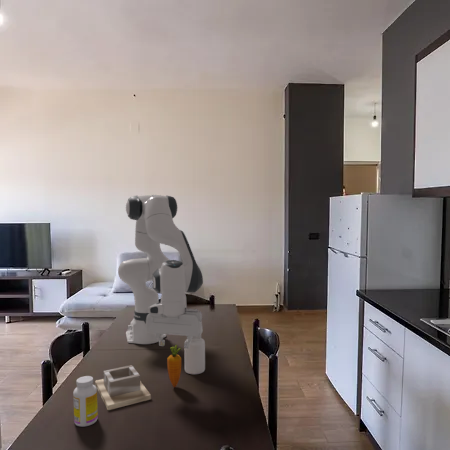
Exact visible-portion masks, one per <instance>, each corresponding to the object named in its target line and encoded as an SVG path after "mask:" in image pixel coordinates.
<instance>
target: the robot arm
mask: <svg viewBox="0 0 450 450" xmlns="http://www.w3.org/2000/svg"><path fill="white" fill-rule="evenodd" d="M126 201H127V202H126V205H125V211H126V214H127V217H128V218H129V219H130V220H133V221H135V229H134V230H135V231H134V232H135V233H134V234H135V236H134V245H135V248H136V249H137V250H139V251H140V252H142V253H144V254H146V255H147V256H146V257H143V258H141V257H140V258H131V259H126V260H124V261H121V263H120V264H119V266H118V267H117V268H118V269H117V271H118V272H117V274H118V277H119V279H120V280H121V281H122V282H123V283H125V284H126V285H128V287H129V288H130V289H131V291H132V294H133V297H134V311H133V318H132V320H131V321H130V324H128V325H127V330H126V332H125V336H126V340H127V341H126V342H127V343H128V344H137V345H151V344H155V343H158V346H159V347H164V346H165V345H166V340H165V339H164V338H167V335H171V336H183V337H184V336H185V337H186V339H188V341H187V342H185V341H184V343H183V349H184V348H190V342H191V340H192V338H193V337H198V336H200V335H201V336H202V333H203V331H204V330H203V329H204V328H203V322H202V321H203V312H201V310H199V309H197V308H191V307H190V308H189V307H188V308H187V296H186V293H196V292H198V291H199V290H200V289H201V287H202V286H203V283H204V278H203V273H202V271H201V269H200V267H199V265H198V264H197V263H198V262H197V261H196V259H195V256H194V253H193V251H192V248H191V246H190V244H189V241H188V238H187V237H186V234H185V232H184V231H182V230H181V229H180V228H178V226H176V224H175V223H174V218H175V217H176V215H177V212H178V202H177V200H176V198H175V197H173V196H171V195H161V194H160V195H157V194H151V195H133V196H132V195H131V196H130V197H129V198H128V199H127V200H126ZM161 245H165V246H169V247H171V248H174V249H176V251H178V253H179V257H180V258H181V261H180V260H176V259H170V258H168V257H167V256H166V255H165V254H164V253H163V252H162V249H161ZM147 282H152V288H151V287H148V286H147V284H146V283H147ZM159 294H161V297H160V301H159Z"/></svg>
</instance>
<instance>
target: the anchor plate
mask: <svg viewBox="0 0 450 450" xmlns="http://www.w3.org/2000/svg"><path fill="white" fill-rule="evenodd" d="M94 382H95V383H94V385H95V386H96V388H97V393H98V394H99V396H100V397H101V400H102V402H103V403H104V406H105V408H106V410H107V411H112V410H115V409H118V408H122V407H125V406H130V405H134V404H138V403H142V402H146V401H149V400H152V395H151V393H150V392H149V391H148V389H147V388H146V387H145V385H144V384H143V383H142V381H141V375H140V373H139V372H138V371H137V370H136V369H135V366H133V365H132V364H130V365H125V366H120V367H115V368H111V369H107V370H103V378H101V379H96V380H95V381H94Z"/></svg>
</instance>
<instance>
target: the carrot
mask: <svg viewBox="0 0 450 450" xmlns="http://www.w3.org/2000/svg"><path fill="white" fill-rule="evenodd" d="M177 348H178V349H177ZM169 349H170V351H171V354H170V355H169V356H168V357H167V358H166V359H167V360H166V364H167V373H168V378H169V381H170V384H171V385H172V387H173V388H176V387H177V385H178V383H179V381H180V378H181V374H182V373H181V372H182V357H181V356H180V355H179V354H178V353H179V352H180V351H181V350H182V348H181V347H178V345H177V344H175V346H171V347H169Z"/></svg>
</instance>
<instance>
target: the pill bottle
mask: <svg viewBox="0 0 450 450" xmlns="http://www.w3.org/2000/svg"><path fill="white" fill-rule="evenodd" d="M187 341H188V339H187V338H186V339H185V340H184V343H185V342H187ZM183 349H184V353H183V354H184V356H183V357H184V372H185V373H187V374H190V375H199V374H202V373H205V370H206V342H205V339H204V338H202V334H201V335H200V336H198V337H193V338H192V340H191V342H190V348H184V347H183Z"/></svg>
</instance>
